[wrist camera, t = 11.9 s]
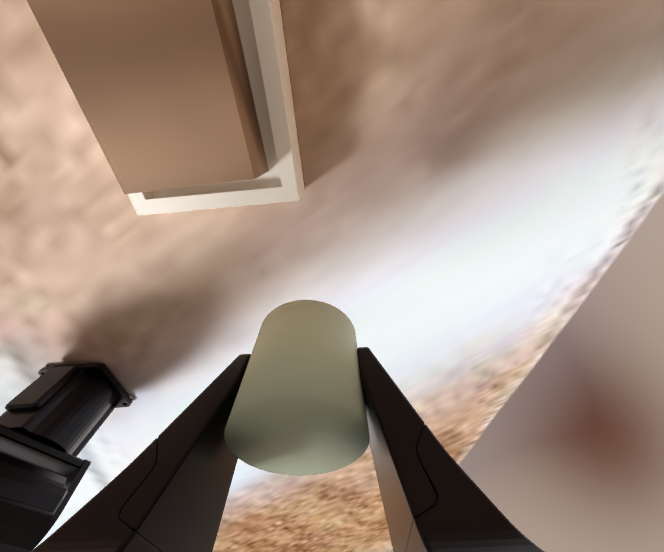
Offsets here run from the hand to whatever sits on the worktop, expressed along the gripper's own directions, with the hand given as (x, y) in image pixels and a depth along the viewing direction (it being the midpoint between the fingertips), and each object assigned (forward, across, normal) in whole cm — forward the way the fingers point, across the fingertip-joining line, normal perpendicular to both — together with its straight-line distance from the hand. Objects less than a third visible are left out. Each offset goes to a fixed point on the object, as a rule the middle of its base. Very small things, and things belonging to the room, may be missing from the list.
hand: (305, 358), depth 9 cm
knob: (+1, 0, 0) cm, 1 cm away
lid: (+8, +5, -10) cm, 14 cm away
